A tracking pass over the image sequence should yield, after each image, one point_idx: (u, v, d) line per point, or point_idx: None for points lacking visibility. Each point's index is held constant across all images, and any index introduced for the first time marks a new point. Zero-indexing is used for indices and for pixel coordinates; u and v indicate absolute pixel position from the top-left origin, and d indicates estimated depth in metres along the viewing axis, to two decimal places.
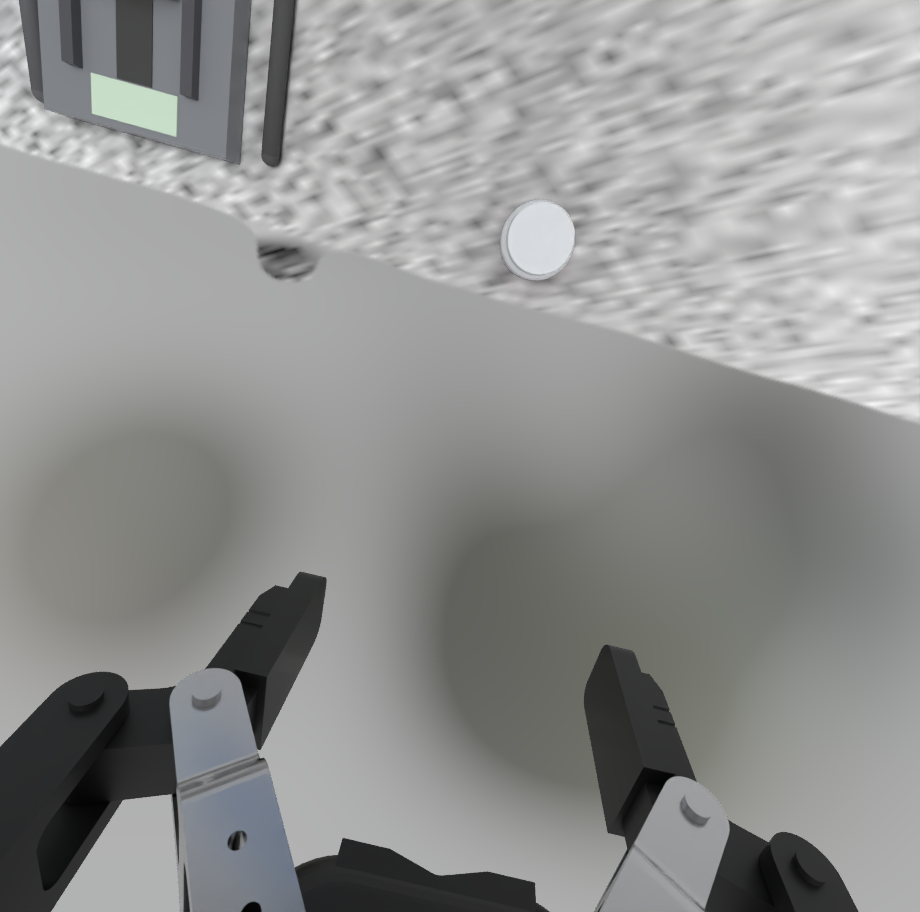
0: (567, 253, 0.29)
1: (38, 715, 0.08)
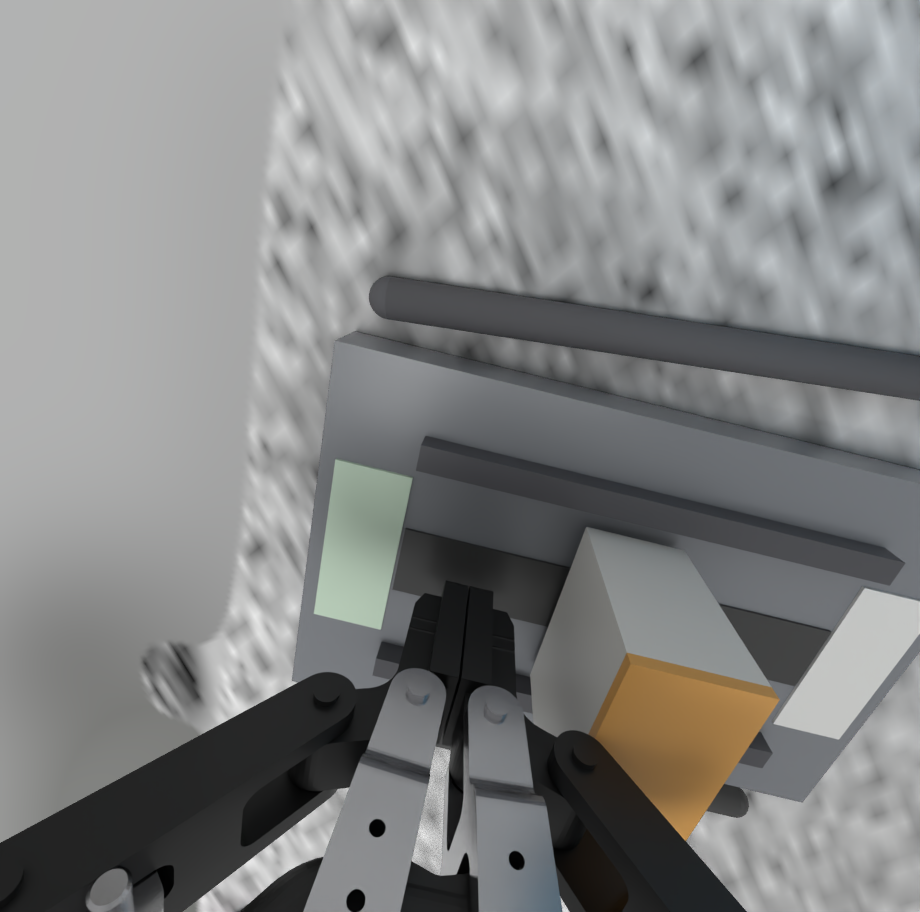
0: None
1: (295, 689, 0.10)
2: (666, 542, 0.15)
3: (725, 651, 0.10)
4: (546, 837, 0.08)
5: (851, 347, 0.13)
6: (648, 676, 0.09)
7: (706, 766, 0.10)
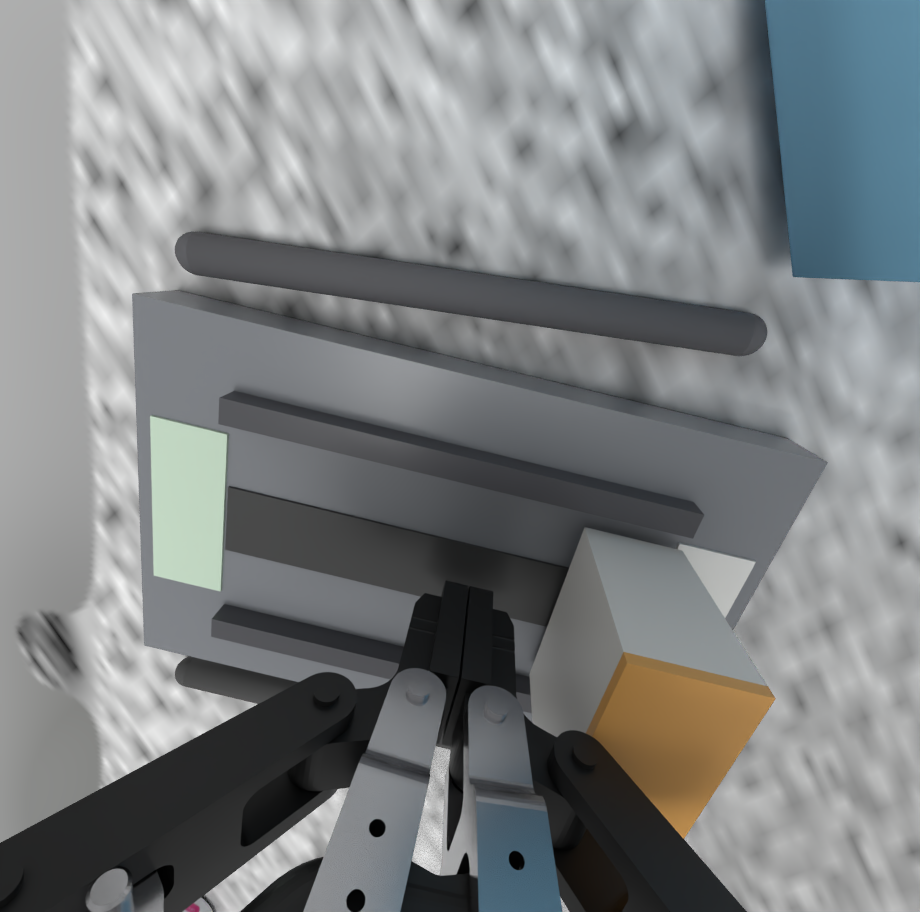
0: None
1: (295, 689, 0.10)
2: (483, 498, 0.15)
3: (721, 650, 0.10)
4: (546, 837, 0.08)
5: (648, 299, 0.13)
6: (644, 675, 0.10)
7: (703, 765, 0.10)
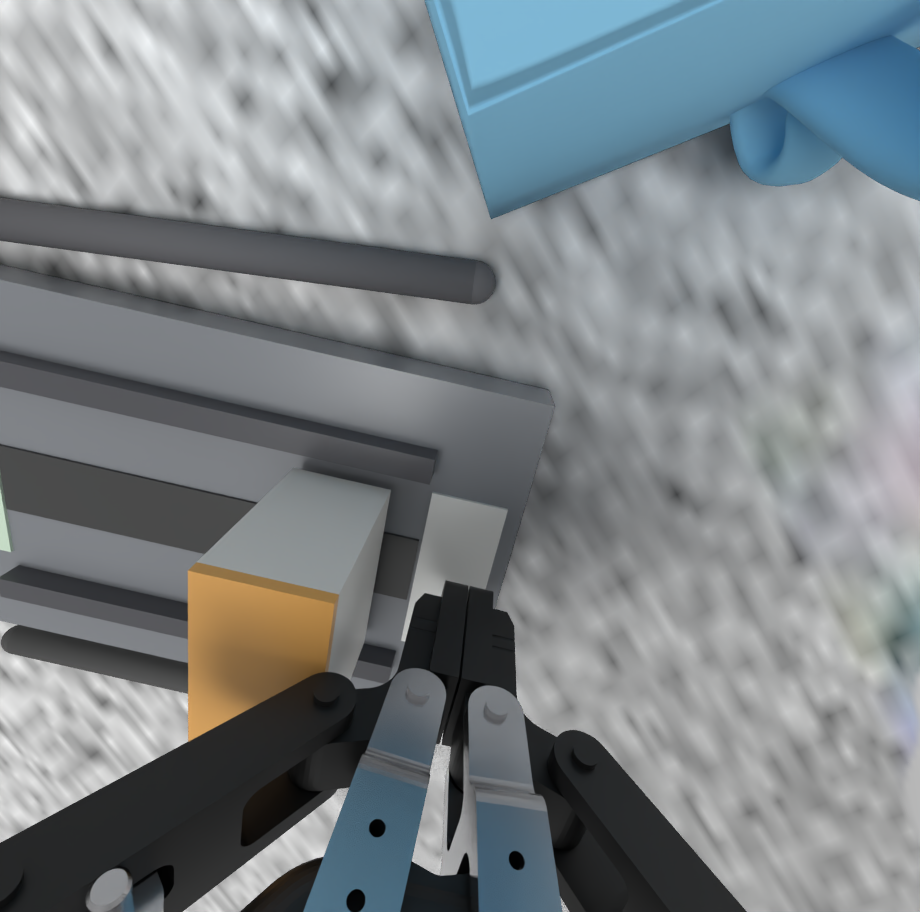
0: None
1: (295, 689, 0.10)
2: (239, 450, 0.15)
3: (322, 566, 0.11)
4: (546, 837, 0.08)
5: (375, 248, 0.14)
6: (209, 583, 0.10)
7: (298, 677, 0.10)
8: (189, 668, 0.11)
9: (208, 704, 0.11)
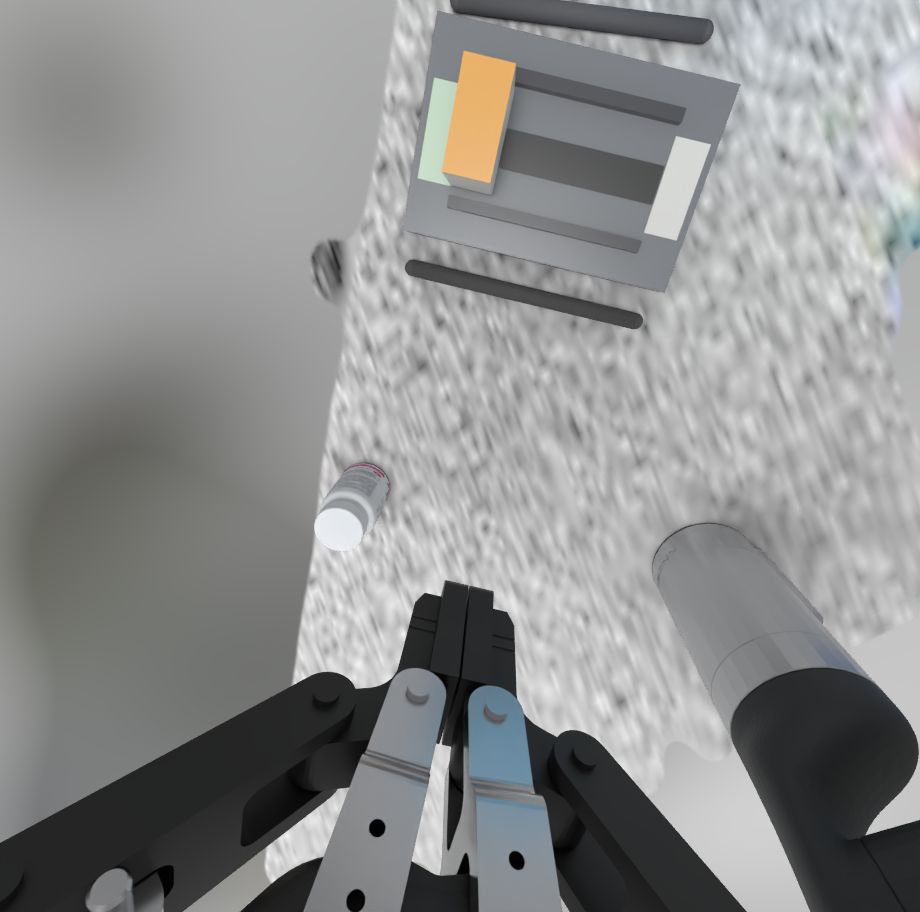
0: (331, 547, 0.39)
1: (295, 689, 0.10)
2: (585, 116, 0.32)
3: None
4: (546, 837, 0.08)
5: (661, 13, 0.31)
6: (470, 56, 0.27)
7: (497, 106, 0.28)
8: (454, 106, 0.28)
9: (458, 127, 0.28)
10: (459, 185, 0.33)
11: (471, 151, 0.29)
